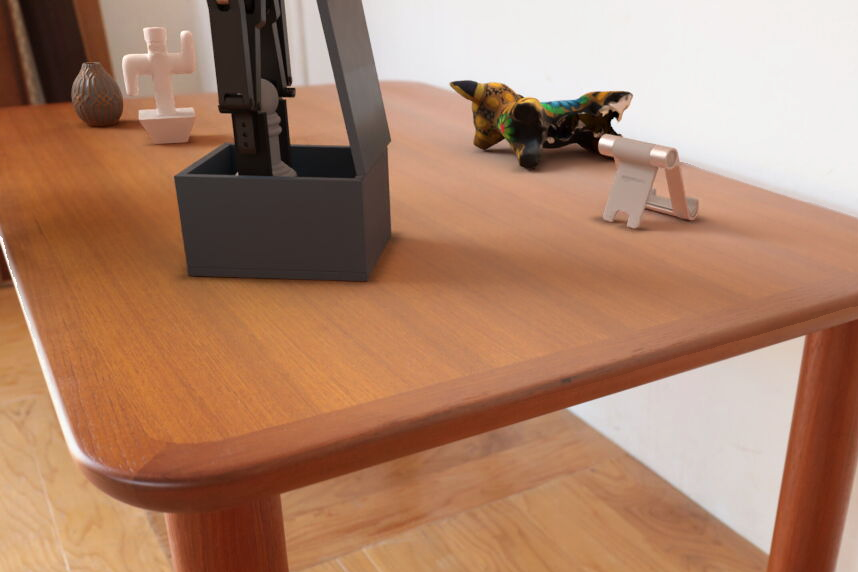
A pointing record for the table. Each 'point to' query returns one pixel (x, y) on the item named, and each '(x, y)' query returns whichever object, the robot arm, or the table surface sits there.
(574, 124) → the dog figurine
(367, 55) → the lid
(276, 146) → the chess piece
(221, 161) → the chest
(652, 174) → the tablet stand
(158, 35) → the figurine
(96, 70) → the vase
